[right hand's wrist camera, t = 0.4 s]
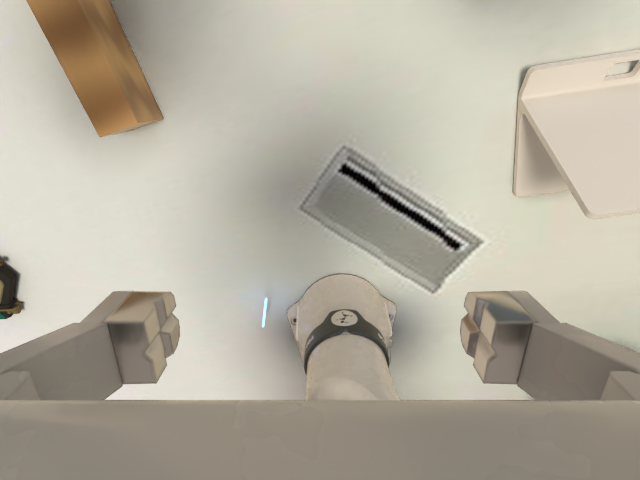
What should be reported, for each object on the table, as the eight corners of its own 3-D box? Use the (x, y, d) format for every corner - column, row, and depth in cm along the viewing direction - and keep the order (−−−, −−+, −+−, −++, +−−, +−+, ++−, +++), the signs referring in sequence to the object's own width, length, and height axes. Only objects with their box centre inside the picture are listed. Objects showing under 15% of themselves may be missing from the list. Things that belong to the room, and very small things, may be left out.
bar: (163, 118, 52) (138, 123, 44) (130, 130, 52) (99, 137, 45) (75, -73, 44) (25, -106, 36) (37, -56, 44) (-20, -85, 37)
